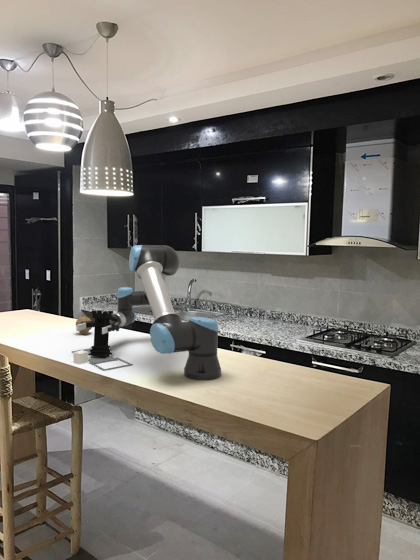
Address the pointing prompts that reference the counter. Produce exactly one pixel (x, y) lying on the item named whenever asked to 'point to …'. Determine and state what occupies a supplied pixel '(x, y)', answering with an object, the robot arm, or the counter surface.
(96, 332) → the chess piece
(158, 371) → the counter surface
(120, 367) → the grey flat square frame
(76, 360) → the die
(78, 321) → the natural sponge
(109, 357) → the track
